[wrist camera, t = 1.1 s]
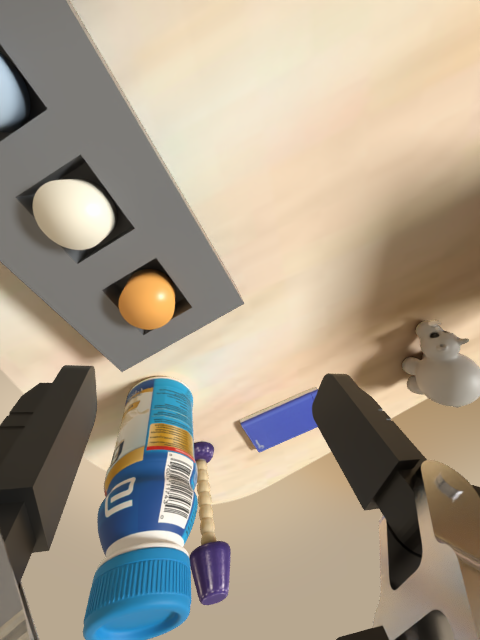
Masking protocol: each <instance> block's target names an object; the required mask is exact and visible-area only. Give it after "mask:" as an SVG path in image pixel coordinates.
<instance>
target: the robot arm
mask: <svg viewBox="0 0 480 640" xmlns="http://www.w3.org/2000/svg"><path fill="white" fill-rule="evenodd" d="M96 411H97V396H96V380H95V369H94V367H93V366H69V365H65V366H63V367H62V369H61V370H60V372H59V373H58V375H57V377H56V378H55V380H54V381H53V383H39V384H38V385H36V386H35V387H34V388H32V389H31V390H29V391H28V392H27V393H25V394H24V395H23V396H21V398H20V399H19V400H18V402H17V403H16V405H15V406H14V407H13V409H12V410H11V411H10V415H9V416H7V417H6V418H5V419H4V421H3V422H2V424H1V425H0V640H39V638H38V634H37V631H36V628H35V624H34V621H33V618H32V615H31V612H30V609H29V605H28V602H27V599H26V595H25V592H24V589H23V586H22V582H21V578H22V576H23V573H24V571H25V568H26V566H27V563H28V561H29V558H30V556H31V553H34V552H42V551H49V549H50V546H51V543H52V541H53V538H54V535H55V532H56V529H57V526H58V524H59V521H60V518H61V515H62V512H63V509H64V507H65V504H66V501H67V498H68V495H69V492H70V490H71V487H72V484H73V481H74V479H75V476H76V473H77V470H78V467H79V464H80V462H81V459H82V456H83V453H84V450H85V448H86V445H87V442H88V439H89V436H90V433H91V431H92V428H93V425H94V422H95V417H96ZM312 415H313V418H314V420H315V422H316V424H317V426H318V428H319V430H320V431H321V433H322V435H323V437H324V439H325V440H326V442H327V444H328V446H329V448H330V449H331V451H332V453H333V455H334V456H335V458H336V460H337V462H338V464H339V466H340V468H341V469H342V471H343V473H344V475H345V477H346V478H347V480H348V482H349V484H350V486H351V487H352V489H353V491H354V493H355V495H356V496H357V498H358V500H359V502H360V504H361V505H362V507H363V509H364V510H371V509H378V508H379V509H380V510H381V512H382V514H383V515H382V516H381V518H380V521H379V535H380V536H379V538H380V577H381V593H380V600H379V604H378V607H377V609H376V612H375V616H374V621H373V628H371V629H367V630H364V631H360V632H357V633H353V634H349V635H346V636H342V637H339V638H337V639H336V640H480V487H477V486H474V485H471V484H470V483H469V482H468V481H467V480H466V479H465V478H464V477H463V476H462V475H461V474H459V473H458V472H457V471H455V470H454V469H452V468H450V467H449V466H447V465H445V464H443V463H441V462H438V461H435V460H427V459H426V458H425V457H424V456H423V455H422V454H421V452H420V451H419V450H418V449H417V448H416V447H415V446H414V445H413V443H412V442H411V441H410V440H409V439H408V438H407V437H406V435H405V434H404V433H403V432H402V431H401V430H400V429H399V427H398V426H397V425H396V424H395V423H394V422H393V421H391V420H390V419H391V418H390V417H389V416H388V415H387V414H386V413H385V411H382V408H381V407H380V406H379V405H378V403H377V402H376V401H375V400H374V399H373V398H372V397H371V396H370V395H368V394H367V393H366V392H364V391H363V390H362V389H360V388H359V387H358V386H357V384H356V383H355V382H354V381H353V380H352V379H351V377H350V376H348V375H346V374H326V375H325V376H324V378H323V380H322V382H321V384H320V387H319V389H318V392H317V394H316V396H315V399H314V401H313V404H312Z"/></svg>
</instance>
